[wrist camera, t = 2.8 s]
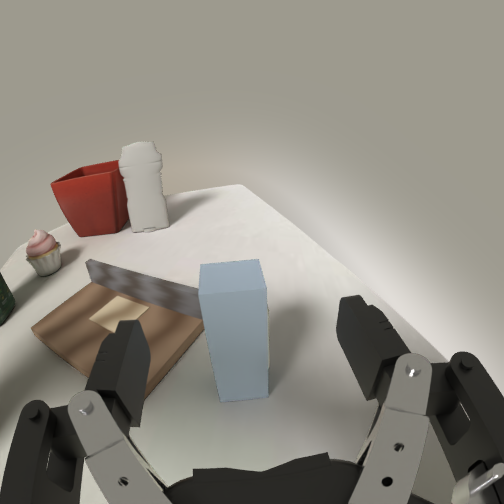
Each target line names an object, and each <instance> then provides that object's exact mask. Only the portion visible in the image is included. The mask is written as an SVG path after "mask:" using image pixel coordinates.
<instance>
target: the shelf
mask: <svg viewBox="0 0 504 504" xmlns="http://www.w3.org/2000/svg"><path fill="white" fill-rule="evenodd" d="M85 263H86V266H87V269H88V272H89V275H90V278H91V281H92V282H91V283H89V284H88V285H87V286H85V287H84V288H83V289H81V290H80V291H78V292H77V293H76V294H74V295H73V296H72V297H70V298H69V299H68V300H66V301H65V302H64V303H62V304H61V305H60V306H58V307H57V308H56V309H54V310H53V311H52V312H50V313H49V314H48V315H47V316H45V317H44V318H43V319H41V320H40V321H39V322H38V323H36V324H35V325H34V326H33V327H31V329H32V331H33V333H34V335H35V336H36V337H37V338H38V339H40V340H41V341H42V342H43V343H44V344H45V345H47V346H48V347H49V348H50V349H51V350H53V351H54V352H55V353H56V354H58V355H59V356H60V357H61V358H63V359H64V360H65V361H66V362H68V363H69V364H70V365H72V366H73V367H74V368H76V369H77V370H78V371H80V372H81V373H82V374H84V375H85V376H87V377H88V378H89V376H90V373H91V370H92V367H93V364H94V362H95V359H96V356H97V354H98V351H99V348H100V345H101V343H102V341H103V340H104V339H105V338H106V337H107V336H108V334H109V333H115V331H116V328H117V325H118V323H119V321H120V320H136V319H137V320H139V322H140V324H141V327H142V329H143V332H144V335H145V337H146V340H147V343H148V345H149V348H150V354H151V362H150V367H149V373H148V378H147V384H146V390H145V396H144V400H145V399H146V397H147V396H148V395H149V394H150V393H151V391H152V390H153V389H154V388H155V387H156V386H157V384H158V383H159V382H160V381H161V380H162V378H163V377H164V376H165V375H166V374H167V373H168V371H169V370H170V369H171V368H172V367H173V365H174V364H175V363H176V362H177V361H178V359H179V358H180V357H181V356H182V355H183V353H184V352H185V351H186V350H187V349H188V347H189V346H190V345H191V344H192V343H193V342H194V340H195V339H196V338H197V337H198V336H199V334H200V333H201V332H202V331H203V330H204V323H203V318H202V313H201V307H200V302H199V296H198V291H199V289H198V288H194V287H190V286H186V285H182V284H178V283H174V282H170V281H166V280H163V279H159V278H155V277H151V276H148V275H144V274H140V273H137V272H133V271H130V270H126V269H123V268H119V267H116V266H112V265H109V264H105V263H102V262H99V261H95V260H92V259H89V260H88V261H86V262H85Z"/></svg>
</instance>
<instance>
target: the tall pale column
mask: <svg viewBox="0 0 504 504" xmlns="http://www.w3.org/2000/svg"><path fill="white" fill-rule="evenodd" d="M118 163H119V170H120V174H121V175H122V176H123V177H124V179H123V181H124V184H125V189H126V192H127V193H126V194H127V198H128V202H127V208H128V213H129V218H130V222H131V227H132V232H134V233H137V232H152V231H155V230H159V229H164V228H168V227H169V226H170V225H169V220H168V213H167V206H166V200H165V198H164V195H163V194H162V192H163V191H162V184H161V183H162V181H161V173H160V171H161V169H162V156H161V154H160V153H159V152H157V150H156V147H155V145H154V142H136V143H133V144H131V145H128V146H126V147H122V156H121V159H120V160H119V161H118Z"/></svg>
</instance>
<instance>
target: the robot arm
mask: <svg viewBox="0 0 504 504" xmlns="http://www.w3.org/2000/svg"><path fill="white" fill-rule="evenodd" d="M336 332H337V338H338V341H339V343H340V345H341V347H342V349H343V351H344V353H345V355H346V358H347V360H348V362H349V364H350V366H351V368H352V370H353V372H354V374H355V377H356V379H357V381H358V383H359V385H360V387H361V390H362V392H363V394H364V396H365V398H366V400H367V401H368V400H372V399H375V398H376V399H377V401H378V403H379V404H378V406H377V409H376V412H375V415H374V417H373V420H372V423H371V426H370V429H369V431H368V434H367V437H366V439H365V442H364V444H363V446H362V449H361V451H360V453H359V455H358V457H357V459H356V461H355V463H353V462H350V461H345V460H337V459H329V456H328V452H326V453H322V454H317V455H313V456H308V457H303V458H298V459H294V460H292V461H289V462H287V463H284V464H282V465H279V466H277V467H274V468H271V469H269V470H266V471H262V472H257V471H247V470H239V469H232V468H210V469H193V476H192V477H188V478H185V479H183V480H180V481H178V482H176V483H174V484H173V485H171V486H168V485H167V484H166V483H165V482H164V481H163V480H162V478H161V477H160V476H159V475H158V474H157V473H156V471H155V470H154V469H153V468H152V466H151V465H150V464H149V462H148V461H147V460H146V458H145V457H144V456H143V454H142V453H141V451H140V450H139V449H138V447H137V446H136V444H135V443H134V441H133V440H132V438H131V437H130V436H129V430H130V427H140V422H141V415H142V409H143V402H144V396H145V390H146V384H147V378H148V373H149V367H150V362H151V354H150V348H149V345H148V343H147V340H146V337H145V335H144V332H143V329H142V327H141V324H140V322H139V320H137V319H136V320H120V321H119V323H118V325H117V328H116V331H115V333H109V334H108V336H107V337H106V338H105V339H104V340H103V341H102V343H101V345H100V348H99V351H98V354H97V356H96V359H95V362H94V364H93V367H92V370H91V373H90V376H89V379H88V382H87V385H86V388H85V390H84V391H82V392H79V393H77V394H76V395H75V396H73V397H72V399H71V400H70V402H69V404H68V405H66V406H61V407H56V408H49V406H48V405H47V404H46V403H45V402H44V401H41V400H34V401H31V402H29V403H28V404H26V405H25V406H24V408H23V409H22V411H21V414H20V417H19V420H18V423H17V426H16V430H15V433H14V436H13V440H12V443H11V447H10V451H9V454H8V458H7V463H6V467H5V471H4V476H3V481H2V486H1V491H0V504H79V503H80V491H81V481H82V472H83V464H84V457H86V458H85V461H86V464H87V466H88V468H89V470H90V472H91V474H92V475H93V477H94V479H95V481H96V483H97V484H98V486H99V488H100V490H101V491H102V493H103V495H104V496H105V498H106V500H107V501H108V503H109V504H434V503H432V502H429V501H427V500H425V499H423V498H421V497H419V496H417V495H415V494H413V493H411V491H412V488H413V485H414V481H415V478H416V475H417V471H418V468H419V464H420V461H421V457H422V453H423V449H424V444H425V440H426V435H427V431H428V426H429V420H430V422H431V424H432V426H433V429H434V431H435V433H436V435H437V437H438V440H439V442H440V444H441V446H442V449H443V451H444V453H445V456H446V458H447V460H448V463H449V465H450V467H451V470H452V472H453V475H454V477H455V480H456V482H457V483H456V485H455V487H454V489H453V494H452V498H451V502H452V504H504V397H503V395H502V394H501V392H500V391H499V389H498V388H497V386H496V385H495V383H494V382H493V380H492V379H491V377H490V376H489V374H488V373H487V371H486V370H485V368H484V367H483V365H482V364H481V363H480V361H479V360H478V358H476V357H475V356H474V355H473V354H471V353H468V352H457V353H455V354H454V355H453V356H452V358H451V360H450V362H449V363H430V362H429V361H428V360H427V359H426V358H425V357H423V356H421V355H419V354H415V353H411V352H410V350H409V349H408V347H407V346H406V345H405V343H404V342H403V340H402V339H401V337H400V336H399V334H398V333H397V332H396V330H395V329H393V326H392V324H391V323H390V322H388V319H387V317H386V316H385V315H384V313H383V312H382V311H381V310H379V309H378V308H376V307H375V306H373V305H369V306H368V305H367V304H366V303H365V301H364V300H363V298H362V297H361V296H360V295H355V296H349V297H343V298H341V300H340V304H339V312H338V319H337V326H336ZM460 403H461V404H462V405H463V407H464V409H465V411H466V413H467V415H468V416H469V419H470V421H469V419H468V417H467V415H466V413H465V412H464V410H463V408H462V406H461V404H460ZM49 453H50V456H49ZM87 456H88V457H87ZM48 458H49V461H48ZM47 463H48V466H47Z"/></svg>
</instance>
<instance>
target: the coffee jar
mask: <svg viewBox="0 0 504 504" xmlns="http://www.w3.org/2000/svg"><path fill="white" fill-rule="evenodd" d="M14 305H15V299H14V297H13V295H12V293H11V291H10V289H9V288H8V286H7V284H6V282H5V280H4V279H3V277H2V275H1V273H0V325H1V324H2V323H3V321H4V320H5V319H6V318H7V316H8V315H9V313H10V312H11V310H12V309H13V307H14Z"/></svg>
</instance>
